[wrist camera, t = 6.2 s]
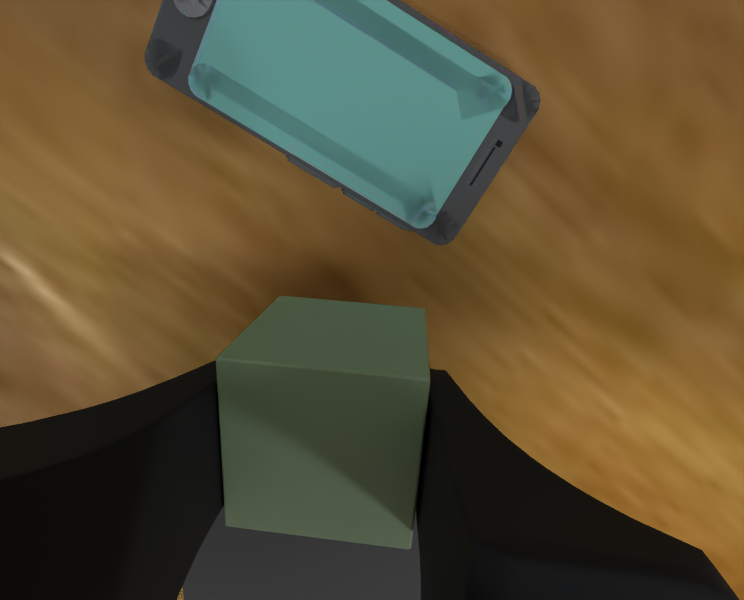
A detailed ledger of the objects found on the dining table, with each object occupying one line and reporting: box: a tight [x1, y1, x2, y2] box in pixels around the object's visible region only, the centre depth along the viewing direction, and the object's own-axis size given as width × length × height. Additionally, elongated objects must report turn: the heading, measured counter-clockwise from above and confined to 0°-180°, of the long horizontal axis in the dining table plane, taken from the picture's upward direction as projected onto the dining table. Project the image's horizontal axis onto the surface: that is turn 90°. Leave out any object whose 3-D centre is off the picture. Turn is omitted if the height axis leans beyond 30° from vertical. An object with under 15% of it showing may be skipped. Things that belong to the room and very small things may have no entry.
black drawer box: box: [183, 506, 421, 600], centre depth 21 cm, size 14×12×8 cm
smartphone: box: [145, 0, 540, 245], centre depth 18 cm, size 7×1×15 cm
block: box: [216, 296, 430, 549], centre depth 10 cm, size 4×4×4 cm
